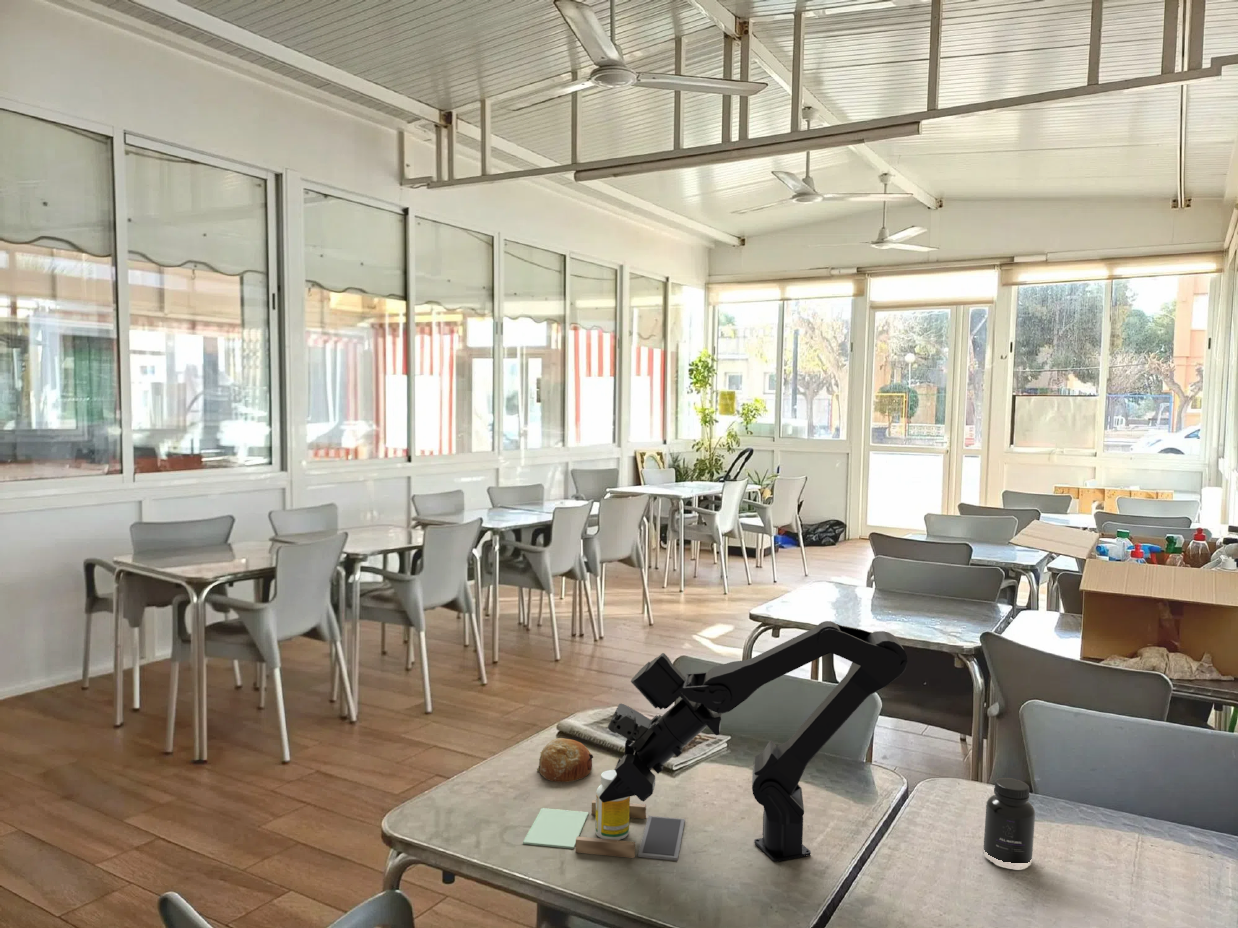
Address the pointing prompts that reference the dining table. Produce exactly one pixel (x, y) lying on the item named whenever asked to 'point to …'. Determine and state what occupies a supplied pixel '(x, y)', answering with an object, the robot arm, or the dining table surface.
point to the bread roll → (565, 760)
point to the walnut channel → (608, 845)
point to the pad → (556, 828)
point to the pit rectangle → (662, 838)
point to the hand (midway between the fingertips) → (604, 792)
